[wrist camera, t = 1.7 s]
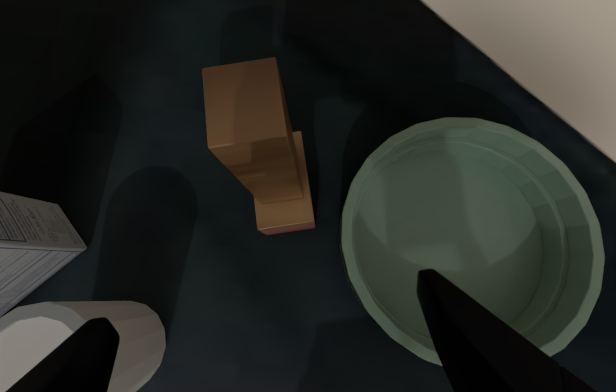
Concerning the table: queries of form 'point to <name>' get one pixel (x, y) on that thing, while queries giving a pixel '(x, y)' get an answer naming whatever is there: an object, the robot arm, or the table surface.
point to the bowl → (472, 232)
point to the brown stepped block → (259, 142)
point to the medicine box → (32, 245)
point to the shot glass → (65, 321)
